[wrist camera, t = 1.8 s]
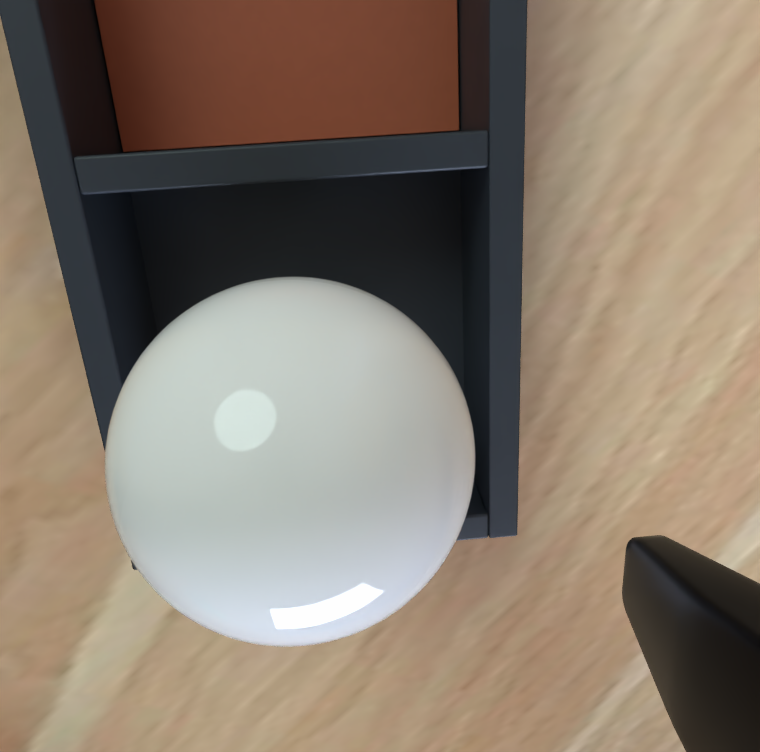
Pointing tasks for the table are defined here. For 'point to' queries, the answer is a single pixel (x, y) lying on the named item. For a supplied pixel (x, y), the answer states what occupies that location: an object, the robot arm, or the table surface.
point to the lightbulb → (290, 461)
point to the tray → (289, 175)
